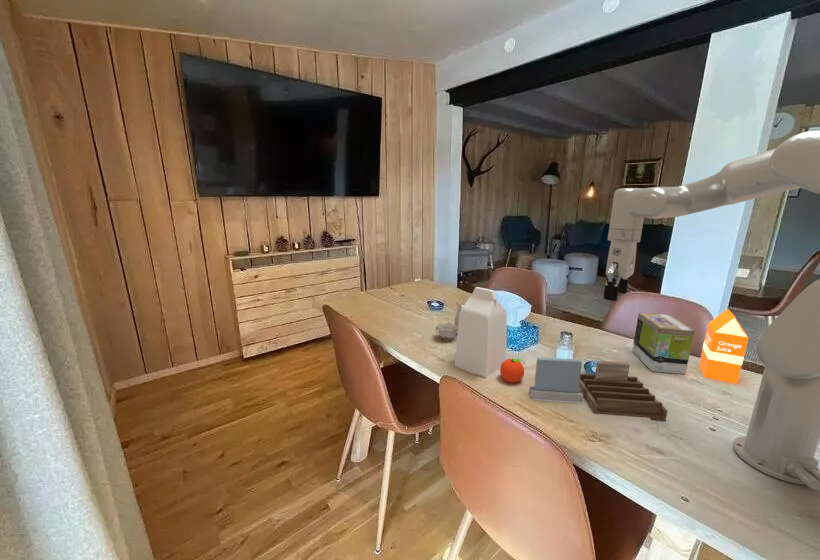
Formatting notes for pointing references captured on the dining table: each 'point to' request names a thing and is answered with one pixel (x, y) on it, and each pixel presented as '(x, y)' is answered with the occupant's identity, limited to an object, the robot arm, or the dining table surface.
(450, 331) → the chinaware
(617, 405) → the rack
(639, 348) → the tea box
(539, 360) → the grey upright panel
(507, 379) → the clementine
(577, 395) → the stand
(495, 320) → the milk
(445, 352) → the dining table surface
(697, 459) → the dining table surface
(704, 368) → the orange juice
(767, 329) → the robot arm
